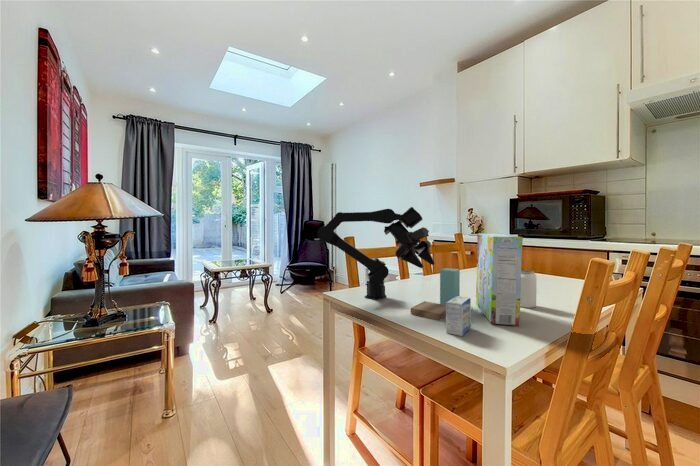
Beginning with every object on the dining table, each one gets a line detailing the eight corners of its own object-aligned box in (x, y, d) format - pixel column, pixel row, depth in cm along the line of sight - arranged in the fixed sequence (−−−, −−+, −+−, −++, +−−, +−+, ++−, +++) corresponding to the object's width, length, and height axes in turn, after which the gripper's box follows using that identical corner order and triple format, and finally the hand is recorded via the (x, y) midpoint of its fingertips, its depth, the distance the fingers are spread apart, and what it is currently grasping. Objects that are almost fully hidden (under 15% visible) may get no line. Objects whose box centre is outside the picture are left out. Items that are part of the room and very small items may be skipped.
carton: (440, 306, 105) (440, 269, 104) (445, 303, 109) (445, 268, 108) (454, 309, 102) (454, 271, 101) (459, 305, 105) (459, 269, 105)
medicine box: (462, 337, 78) (462, 304, 78) (445, 333, 81) (445, 301, 80) (470, 327, 84) (471, 297, 84) (455, 324, 87) (455, 295, 87)
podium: (410, 313, 97) (410, 307, 97) (424, 306, 105) (424, 301, 105) (440, 320, 91) (440, 313, 91) (452, 312, 98) (452, 306, 98)
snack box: (523, 327, 84) (524, 236, 83) (490, 325, 86) (491, 236, 85) (500, 305, 106) (501, 232, 104) (474, 304, 107) (475, 232, 106)
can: (540, 308, 101) (541, 273, 101) (521, 308, 102) (521, 273, 101) (529, 303, 108) (529, 270, 107) (511, 303, 108) (511, 270, 107)
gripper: (402, 220, 105) (431, 254, 99) (426, 220, 120) (453, 249, 113) (383, 242, 111) (410, 274, 104) (408, 239, 125) (433, 267, 118)
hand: (428, 265), depth 110 cm, fingers open, 9 cm apart
